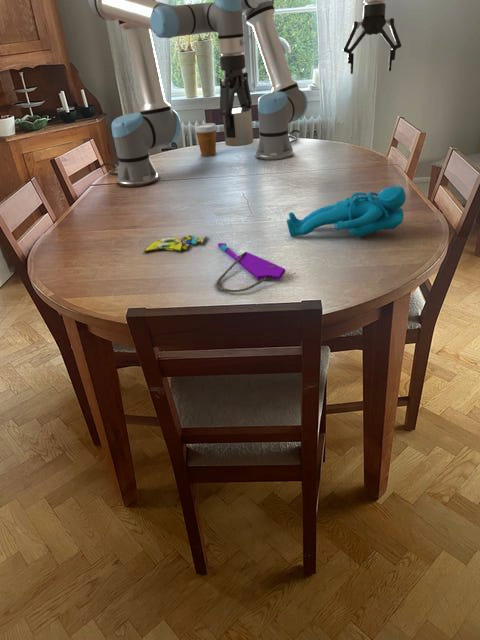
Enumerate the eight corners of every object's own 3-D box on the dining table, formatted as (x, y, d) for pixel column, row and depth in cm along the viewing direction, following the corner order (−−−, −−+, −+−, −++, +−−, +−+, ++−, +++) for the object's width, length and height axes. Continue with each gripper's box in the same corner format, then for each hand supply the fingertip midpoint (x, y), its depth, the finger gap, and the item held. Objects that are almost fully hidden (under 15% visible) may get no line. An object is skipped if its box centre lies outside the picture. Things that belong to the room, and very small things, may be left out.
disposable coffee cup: (194, 156, 208) (190, 127, 202) (203, 151, 216) (200, 122, 209) (213, 157, 205) (210, 127, 199) (222, 151, 212) (220, 122, 206)
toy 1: (199, 248, 125) (143, 249, 127) (199, 251, 125) (144, 252, 127) (206, 233, 133) (154, 234, 135) (206, 236, 133) (154, 237, 136)
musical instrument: (259, 304, 102) (301, 255, 114) (257, 296, 101) (299, 248, 113) (174, 288, 115) (219, 245, 127) (171, 280, 114) (217, 238, 126)
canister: (259, 141, 155) (257, 109, 150) (237, 147, 151) (234, 114, 145) (241, 138, 161) (238, 106, 156) (219, 144, 157) (216, 111, 151)
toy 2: (290, 200, 134) (401, 173, 124) (299, 235, 139) (407, 211, 129) (281, 224, 121) (406, 195, 110) (292, 261, 126) (412, 237, 116)
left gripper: (224, 58, 133) (232, 142, 145) (259, 50, 148) (263, 126, 161) (202, 59, 136) (211, 141, 148) (238, 51, 152) (244, 126, 164)
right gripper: (338, 6, 164) (336, 75, 175) (414, -1, 161) (407, 70, 172) (336, 6, 170) (335, 73, 181) (409, -1, 167) (403, 68, 178)
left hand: (238, 133), depth 154 cm, fingers closed on canister, 9 cm apart
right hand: (370, 72), depth 177 cm, fingers open, 13 cm apart
